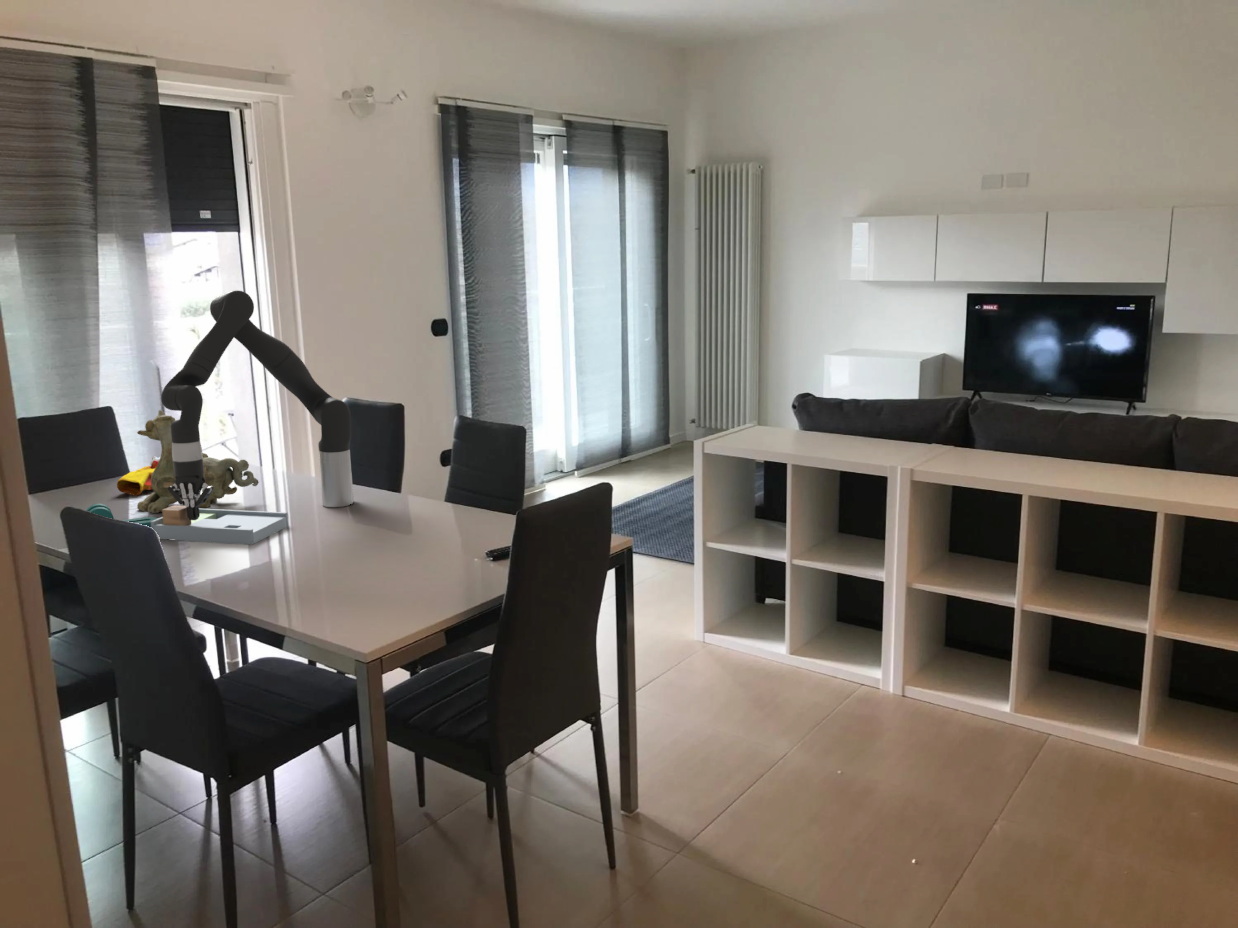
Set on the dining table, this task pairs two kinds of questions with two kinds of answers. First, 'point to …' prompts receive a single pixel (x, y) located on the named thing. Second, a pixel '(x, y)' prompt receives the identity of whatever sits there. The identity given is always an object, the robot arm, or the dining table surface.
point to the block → (176, 516)
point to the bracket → (106, 512)
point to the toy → (138, 479)
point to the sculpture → (163, 476)
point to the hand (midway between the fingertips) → (193, 519)
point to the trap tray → (225, 526)
